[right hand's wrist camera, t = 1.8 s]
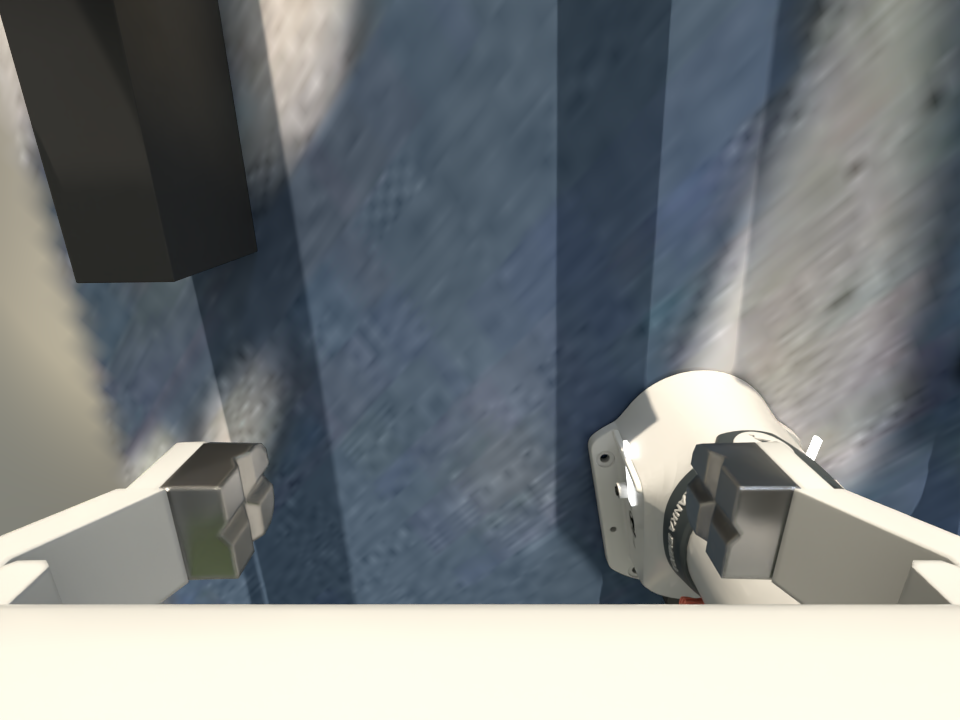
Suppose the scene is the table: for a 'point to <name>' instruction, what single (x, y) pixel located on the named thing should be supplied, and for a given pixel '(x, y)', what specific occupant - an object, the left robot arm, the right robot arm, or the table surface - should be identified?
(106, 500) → the right robot arm
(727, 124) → the table surface
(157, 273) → the box
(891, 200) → the table surface
